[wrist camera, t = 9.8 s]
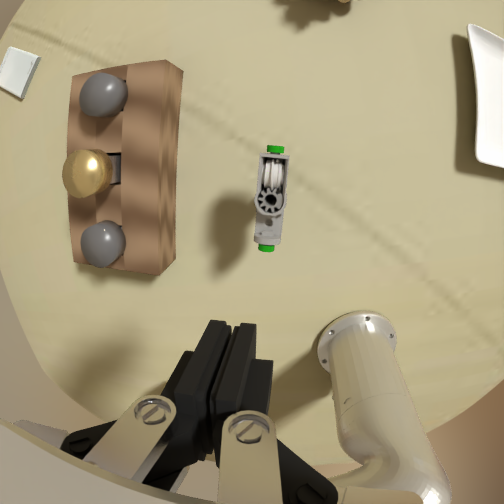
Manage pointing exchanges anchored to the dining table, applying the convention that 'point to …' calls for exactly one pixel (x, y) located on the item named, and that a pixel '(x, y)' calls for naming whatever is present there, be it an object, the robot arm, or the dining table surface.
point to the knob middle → (90, 172)
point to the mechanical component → (270, 197)
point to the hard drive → (18, 71)
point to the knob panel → (133, 165)
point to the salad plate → (488, 94)
